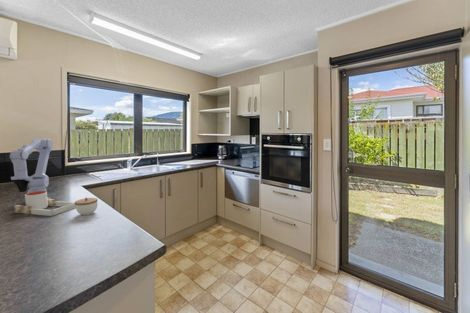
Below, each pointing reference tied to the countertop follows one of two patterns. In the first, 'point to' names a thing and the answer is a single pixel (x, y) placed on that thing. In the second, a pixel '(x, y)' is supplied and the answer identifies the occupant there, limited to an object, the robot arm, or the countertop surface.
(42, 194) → the cup
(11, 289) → the countertop surface
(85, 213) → the lidded jar
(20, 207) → the bay
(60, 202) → the dock
